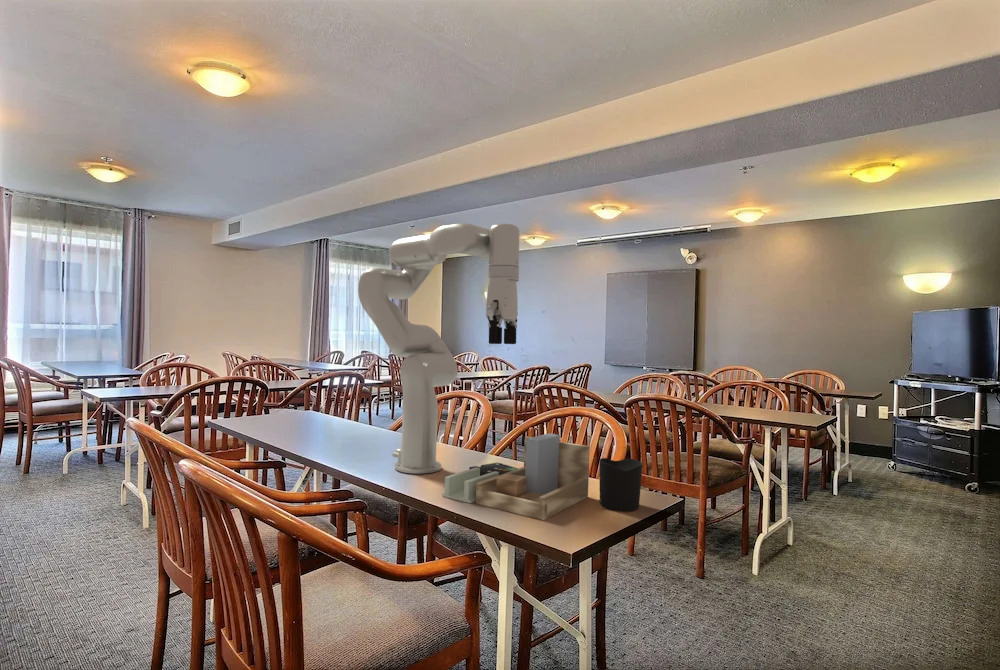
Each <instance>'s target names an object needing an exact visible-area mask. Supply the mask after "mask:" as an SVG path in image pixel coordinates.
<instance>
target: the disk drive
mask: <svg viewBox="0 0 1000 670" xmlns="http://www.w3.org/2000/svg"><path fill="white" fill-rule="evenodd" d="M476 467H477V468H480V476H482V475H485V474H488V473H491V472H494V471H496V472H499V475H502V474H504V473H507V472H510V471H513V470H516V469H519V467H514V466H511V465H507V464H505V463H501V462H492V463H488V464H487V463H486V464H481V465H479V466H477V465H473V466H469V469H473V468H476ZM469 469H468V470H469Z"/></svg>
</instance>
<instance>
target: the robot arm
mask: <svg viewBox="0 0 1000 670" xmlns="http://www.w3.org/2000/svg"><path fill="white" fill-rule="evenodd" d="M456 254H460V255H461V254H463V255H468V256H471V257H476V258H480V259H488V285H487V293H486V307H485V308H486V309H485V317H486V318H487V320H488V324H487V326H488V344H490V345H502V343H503V344H505V345H516V344H517V327H518V324H517V323H518V319H517V318H518V314H519V313H518V306H519V305H518V302H519V301H518V286H517V284H518V283H517V282H519V281H520V229H519V227H518V226H517V225H515V224H511V223H496V224H493V225H492V226H491V227H490V228H484V227H482V226H479V225H475V224H471V223H467V222H466V223H465V222H458V223H453V224H446V225H442V226H439V227H436V229H434V230H433V231H432V232H431V233H426V234H420V235H415V236H409V237H408V236H407V237H402V238H398V239H397V240H395V241H394V242H392V244H391V245H390V246H389V250H388V256H389V259H390V260H391V262H392V263H393V264H394V265H396V266H397V267H399V268H402V270H397V269H391V268H384V267H372V268H369V269H366V270H365V271H364V272H363V273H362V274H361V275H360V277H359V279H358V283H357V284H358V285H357V294H358V299H359V302H360V304H361V306H362V308H363V310H364V311H365V313H366V314H367V316H368V317H369V318H370V319H371V321H372V322H373V323H374V325H375V327H376V328H377V330H378V332H379V334H380V336H381V337H382V338H383V340H384V341H385V343H386V345H387V346H388V348H389V350H390V351H391V353H393V354H394V356H396V357H399V358H404V359H403V361H402V363H401V365H400V371H399V372H400V373H399V374H400V375H399V376H400V382H401V388H402V389H401V390H402V422H401V423H402V424H401V428H402V429H401V446H400V447H401V448H397V449H395V451H394V452H392V454H391V456H392V457H394V458H397V462H396V463H394V469H395V470H396V471H397V472H401V473H404V474H414V475H415V474H417V475H418V474H421V475H423V474H430V473H431V474H432V473H436V472H439V471H440V470H441V469H442V463H441V462H440V461H437V439H438V417H439V415H438V411H439V405H438V398H437V395H436V392H435V390H434V388H435V387H437V388H438V387H445V386H448V385H450V384H453V382H455V380H456V378H457V376H458V365H457V361H456V359H455V357H454V356H453V354H452V352H450V350H449V348H448V347H447V345H446V343H445V342H444V341H443V339H442V337H441V336H440V334H438V332H437V331H436V330H435V328H433V327H431V326H429V325H425V324H415V323H411V322H410V321H409V319H407V316H405V314H404V312H403V311H402V309H401V308H400V307H399V306H398V305H397V304H396V303H395V302H393V301H392V300H391V299H393V300H407V299H409V298H412V296H414V295H415V294H416V293H417V291H418V290H419V289H420V287H421V286H422V285H423V283H424V282H425V281H426V279H427V278H428V276H429V275H430V274H431V272H432V271H433V269H434V268H435V266H436V265H441V264H443V262H445V261H446V259H447V257H448V255H456ZM502 323H503V324H504V326H505V327H504V328H503V327H502Z"/></svg>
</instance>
